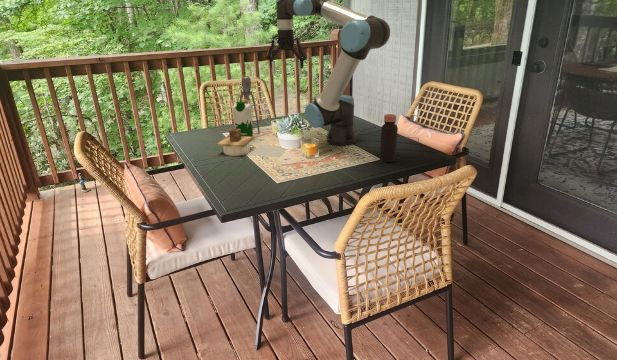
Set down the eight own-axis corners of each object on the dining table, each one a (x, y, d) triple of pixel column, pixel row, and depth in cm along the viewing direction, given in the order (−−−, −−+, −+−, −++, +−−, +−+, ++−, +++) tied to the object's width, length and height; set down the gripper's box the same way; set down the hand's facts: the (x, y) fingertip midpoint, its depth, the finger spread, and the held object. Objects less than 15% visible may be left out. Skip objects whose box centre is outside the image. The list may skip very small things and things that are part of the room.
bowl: (253, 149, 200) (252, 139, 198) (243, 157, 190) (242, 147, 188) (230, 147, 203) (229, 137, 201) (219, 155, 193) (218, 145, 191)
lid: (254, 138, 199) (253, 126, 196) (243, 147, 187) (242, 134, 185) (228, 137, 202) (227, 125, 199) (216, 145, 190) (215, 133, 188)
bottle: (385, 156, 187) (388, 112, 179) (398, 160, 183) (401, 115, 175) (376, 160, 183) (378, 115, 175) (389, 164, 178) (392, 118, 171)
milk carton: (234, 142, 211) (230, 103, 203) (238, 137, 219) (235, 99, 211) (251, 142, 210) (248, 103, 202) (255, 137, 218) (252, 99, 210)
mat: (289, 147, 201) (289, 146, 201) (279, 158, 188) (279, 157, 188) (260, 145, 205) (260, 144, 205) (248, 155, 192) (248, 154, 191)
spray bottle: (259, 133, 224) (255, 77, 212) (238, 134, 224) (233, 77, 212) (261, 128, 233) (258, 74, 221) (241, 129, 233) (237, 74, 221)
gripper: (312, 28, 197) (313, 74, 206) (263, 28, 204) (266, 73, 212) (308, 29, 191) (309, 76, 199) (257, 29, 197) (260, 75, 205)
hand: (287, 74), depth 206 cm, fingers open, 13 cm apart
